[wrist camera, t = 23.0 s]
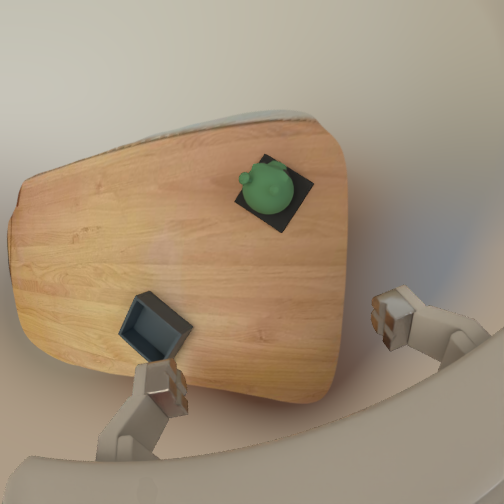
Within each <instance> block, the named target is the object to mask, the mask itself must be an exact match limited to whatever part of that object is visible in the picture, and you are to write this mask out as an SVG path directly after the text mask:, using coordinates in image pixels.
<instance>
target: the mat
mask: <svg viewBox="0 0 504 504" xmlns="http://www.w3.org/2000/svg"><path fill="white" fill-rule="evenodd" d="M272 161H276V160H275V159H273V158H271V157H270V156H268V155H266V154H264V156H263V157H262V159H261V160H260V162H259V163H261V162H266V163H267V164H268V163H270V162H272ZM277 162H278V161H277ZM286 169H287V171H288V172H289V175H290V178H291V179H292V183H293V186H294V193H293V197H292V200H291V202H290V204H289V205H288V206H287V207H286V208H285V209H284V210H282V211H281V212H279V213H275V214H262V213H258V212H257V211H255V210H253V209H252V208H251V207H250V206H249V205H248V204H247V202H246V201H245V199H244V196H243V188H242V190H241V192H240V193H239V195H238V196H237V198H236V200H235V201H234V202H236V203H237V204H239V205H240V206H242V207H243V208H245V209H246V210H248V211H249V212H251V213H252V214H254V215H255V216H257V217H258V218H260V219H261V220H263V221H264V222H266V223H267V224H269V225H270V226H272V227H273V228H275V229H276V230H278V231H279V232H281V233H282V232H283V231H284V229H285V228H286V226H287V225H288V223H289V222H290V220H291V219H292V217H293V215H294V214H295V212H296V211H297V209H298V208H299V206H300V205H301V203H302V202H303V200H304V199H305V197H306V195H307V194H308V192H309V191H310V189H311V188H312V186H313V185H314V183H312V182H311V181H309V180H307V179H306V178H304V177H303V176H301V175H299V174H298V173H296V172H295V171H293V170H291V169H290V168H288V167H286Z"/></svg>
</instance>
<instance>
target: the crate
mask: <svg viewBox="0 0 504 504" xmlns="http://www.w3.org/2000/svg"><path fill="white" fill-rule="evenodd" d="M192 328H193V326H192V325H191V324H189V323H188V322H187V321H185V320H184V319H183V318H182V317H181V316H179V315H178V314H177V313H176V312H174V311H173V310H172V309H171V308H169V307H168V306H167V305H166V304H165V303H163V302H162V301H161V300H160V299H159V298H158V297H156V296H155V295H154V294H153V293H152V292H151V291H148V292H145V293H142V294H139V295H136V296H135V298H134V300H133V302H132V305H131V307H130V309H129V311H128V313H127V315H126V318H125V320H124V322H123V324H122V327H121V329H120V331H119V333H118V334H119V335H120V336H121V337H122V338H123V339H124V340H125V341H126V342H127V343H128V344H129V345H130V346H131V347H132V348H134V349H135V350H136V351H137V352H138V353H139V354H140V355H141V356H142V357H144V358H145V359H146V360H147V361H148V362H153V361H159V360H164V359H169V358H172V359H174V357H175V356H176V354H177V352H178V351H179V349H180V348H181V346H182V344H183V343H184V341H185V340H186V338H187V336H188V335H189V333H190V332H191V330H192Z"/></svg>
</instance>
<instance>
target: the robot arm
mask: <svg viewBox="0 0 504 504" xmlns="http://www.w3.org/2000/svg"><path fill="white" fill-rule="evenodd" d="M372 306H373V307H374V310H373V311H372V313H371V321H372V325H373V327H374V329H375V331H376V332H377V334H379V335H382V336H383V342H384V344H385V345H386V347H387V348H388V349H389V351H393V350H395V349H398V348H400V347H402V346H405V345H407V344H408V346H410V347H412V348H414V349H416V350H418V351H420V352H422V353H424V354H426V355H428V356H430V357H432V358H434V359H436V360H438V361H440V362H441V364H440V367H439V369H438V372H437V373H435V374H433V375H432V376H430V377H428V378H426V379H424V380H423V381H421V382H419V383H417V384H415V385H414V386H412V387H410V388H408V389H406V390H404V391H402V392H400V393H398V394H396V395H394V396H392V397H389V398H387V399H385V400H383V401H381V402H379V403H377V404H374V405H372V406H370V407H367V408H365V409H363V410H360V411H358V412H356V413H353V414H351V415H348V416H346V417H343V418H341V419H338V420H335V421H332V422H330V423H327V424H324V425H321V426H318V427H315V428H313V429H309V430H306V431H304V432H300V433H297V434H293V435H290V436H287V437H283V438H279V439H276V440H272V441H268V442H264V443H260V444H256V445H252V446H247V447H243V448H238V449H233V450H228V451H223V452H218V453H211V454H205V455H198V456H192V457H183V458H174V459H164V460H161V459H159V458H158V457H157V456H155V455H154V454H153V453H152V451H153V449H154V447H155V445H156V443H157V442H158V440H159V438H160V436H161V434H162V432H163V430H164V428H165V426H166V424H167V423H168V421H169V418H172V417H178V416H183V415H188V401H187V400H186V398H185V397H184V396H185V395H186V393H187V384H186V380H185V377H184V375H183V373H182V372H181V371H180V370H178V369H177V364H176V362H175V361H174V359H172V358H169V359H164V360H159V361H153V362H148V363H143V364H138V365H137V366H136V369H135V376H134V384H133V392H132V396H131V397H128V399H127V400H126V401H125V403H124V404H123V405H122V407H121V408H120V409H119V410H118V412H117V413H116V414H115V416H114V417H113V418H112V419H111V421H110V422H109V423H108V425H107V426H106V427H105V428H104V430H103V431H102V432H101V434H100V435H99V438H98V445H97V453H96V461H76V460H63V459H54V458H45V457H39V456H29V457H27V458H26V459H25V460H24V461H23V462H22V463H21V464H20V465H19V466H18V468H17V469H16V470H15V471H14V472H13V473H12V474H11V475H10V477H9V479H8V482H7V484H6V487H5V492H4V496H3V501H2V504H504V327H503V328H502V329H500V330H499V331H498V332H497V333H495V334H494V335H493V336H491V335H490V334H489V333H488V332H487V331H486V330H485V329H484V328H483V327H482V326H481V325H480V324H479V323H478V322H477V321H476V320H475V319H473V318H469V317H466V316H463V315H460V314H456V313H453V312H450V311H447V310H443V309H440V308H437V307H433V306H430V305H429V306H426V305H425V304H424V303H423V302H422V301H421V300H420V299H419V298H418V297H417V296H416V295H415V294H414V293H413V292H412V291H411V290H410V289H409V288H408V287H407V286H406V285H402V286H399V287H397V288H395V289H392V290H390V291H388V292H385V293H382V294H380V295H377V296H375V297H373V299H372Z"/></svg>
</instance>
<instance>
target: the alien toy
mask: <svg viewBox="0 0 504 504" xmlns="http://www.w3.org/2000/svg"><path fill="white" fill-rule="evenodd" d="M239 182H240V183H241V184H243V196H244V199H245V201H246V202H247V204H248V205H249V206H250V207H251V208H252V209H253V210H255V211H257V212H258V213H262V214H275V213H279V212H281V211H282V210H284V209H285V208H286V207H287V206H288V205H289V204H290V202H291V200H292V197H293V193H294V186H293V183H292V179H291V178H290V175H289V172H288V171H287V169H286V166H285V165H284V164H282V163H280V162H277V161H272V162H270V163H268V164H267V163H266V162H261V163H257V164H253V166H252V169H251V171H250V172H249V173H246V172H244V173H242V174H241V175H240V176H239Z"/></svg>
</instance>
